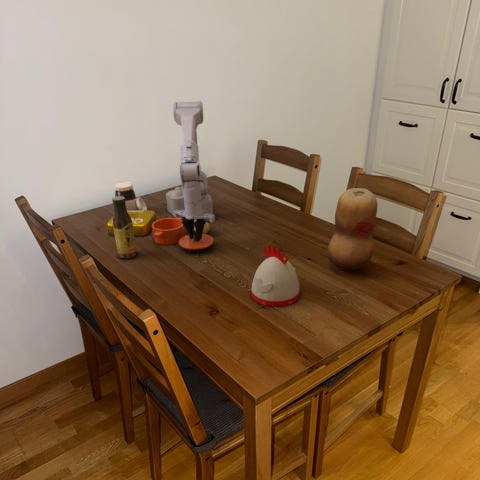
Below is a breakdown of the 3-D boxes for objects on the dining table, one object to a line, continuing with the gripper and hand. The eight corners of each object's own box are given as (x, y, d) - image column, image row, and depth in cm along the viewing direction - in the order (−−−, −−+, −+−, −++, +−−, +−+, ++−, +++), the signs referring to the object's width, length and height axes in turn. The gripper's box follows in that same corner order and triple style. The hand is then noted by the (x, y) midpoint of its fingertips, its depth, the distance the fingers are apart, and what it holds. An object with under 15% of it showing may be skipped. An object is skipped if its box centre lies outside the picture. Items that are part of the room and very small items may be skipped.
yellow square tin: (157, 220, 185) (155, 208, 183) (147, 236, 173) (145, 224, 170) (120, 220, 187) (118, 208, 184) (107, 235, 174) (105, 223, 172)
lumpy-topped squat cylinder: (165, 209, 195) (162, 188, 190) (192, 202, 201) (191, 182, 196) (176, 217, 188) (174, 196, 183) (204, 210, 193) (203, 189, 189)
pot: (193, 231, 176) (192, 217, 173) (171, 249, 163) (169, 235, 160) (167, 227, 180) (165, 213, 177) (143, 245, 167) (141, 230, 164)
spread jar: (115, 210, 195) (110, 182, 189) (142, 205, 199) (138, 178, 193) (122, 220, 186) (117, 191, 180) (150, 215, 190) (146, 186, 184)
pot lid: (219, 239, 166) (218, 227, 163) (204, 253, 156) (203, 241, 154) (188, 234, 170) (187, 222, 167) (172, 248, 160) (171, 235, 158)
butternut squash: (337, 281, 143) (346, 201, 128) (319, 262, 153) (325, 186, 139) (379, 274, 145) (391, 195, 131) (358, 256, 156) (368, 181, 142)
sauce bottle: (132, 260, 158) (123, 202, 146) (115, 258, 159) (104, 201, 147) (140, 251, 163) (131, 195, 152) (123, 250, 164) (113, 194, 153)
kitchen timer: (270, 277, 146) (271, 232, 137) (308, 291, 138) (311, 244, 130) (241, 296, 137) (240, 248, 128) (280, 311, 129) (282, 262, 121)
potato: (200, 229, 177) (200, 218, 174) (212, 231, 176) (211, 219, 173) (192, 237, 172) (191, 225, 169) (203, 238, 170) (202, 226, 168)
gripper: (167, 201, 154) (171, 240, 161) (207, 207, 149) (209, 246, 157) (177, 194, 159) (181, 232, 167) (216, 199, 154) (218, 238, 162)
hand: (195, 238), depth 162 cm, fingers closed on pot lid, 2 cm apart
